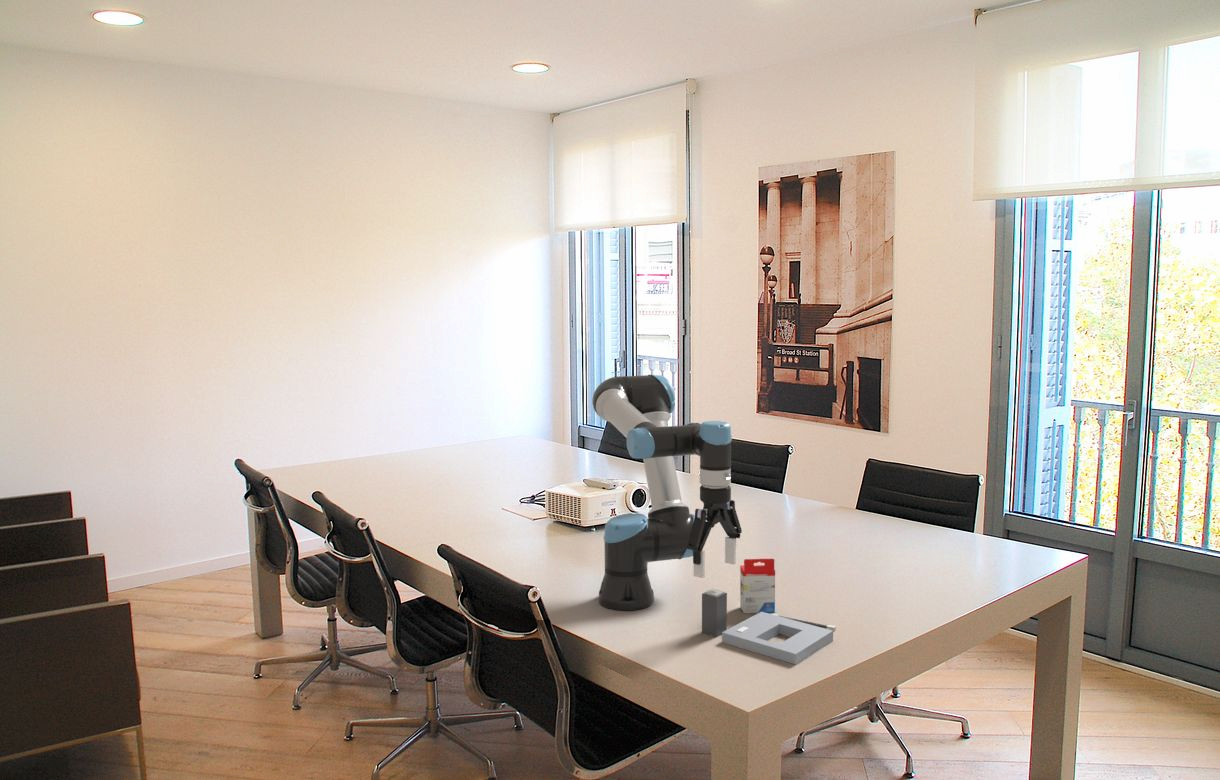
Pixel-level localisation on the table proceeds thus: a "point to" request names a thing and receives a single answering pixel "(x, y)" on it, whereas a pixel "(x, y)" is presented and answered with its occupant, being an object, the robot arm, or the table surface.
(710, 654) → the table surface
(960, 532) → the table surface
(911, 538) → the table surface
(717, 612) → the charger plug
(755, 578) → the ink box
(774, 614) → the cable
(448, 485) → the table surface
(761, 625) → the plate
